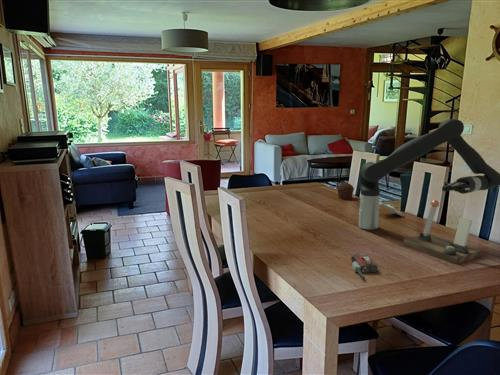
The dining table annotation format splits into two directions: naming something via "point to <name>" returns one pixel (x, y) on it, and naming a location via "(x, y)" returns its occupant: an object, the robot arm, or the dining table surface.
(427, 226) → the steel toggle lever
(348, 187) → the muffin
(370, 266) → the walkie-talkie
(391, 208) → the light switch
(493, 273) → the dining table surface
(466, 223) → the panel
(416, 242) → the walnut switch panel
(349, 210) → the dining table surface
